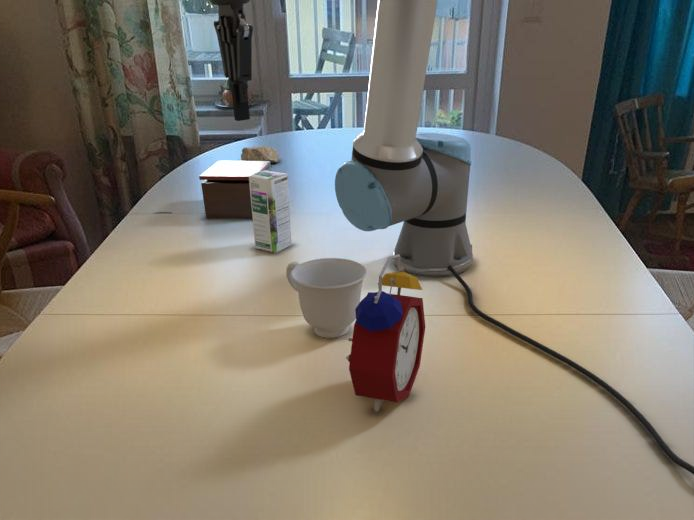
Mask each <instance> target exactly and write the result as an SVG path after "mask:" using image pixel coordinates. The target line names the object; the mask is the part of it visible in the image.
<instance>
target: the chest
mask: <svg viewBox="0 0 694 520" xmlns="http://www.w3.org/2000/svg"><path fill="white" fill-rule="evenodd" d="M271 165H272V164H271ZM271 165H270V166H269V167H268V168H267V169H266V170H268V171H272V166H271ZM200 185H201V192H202V201H203V207H204V213H205V219H208V220H209V219H210V220H211V219H212V220H215V219H216V220H219V219H220V220H253V217H252V206H251V196H250V185H249V180H202V181H201V183H200Z"/></svg>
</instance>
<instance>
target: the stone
mask: <svg viewBox="0 0 694 520" xmlns="http://www.w3.org/2000/svg"><path fill="white" fill-rule="evenodd" d="M279 155H280V154H279V153H278V152H277V150H276V149H275V148H274V147H272V146H264V145H263V146H262V145H261V146H247V147H243V148H242V150H241V154H240V161H270V164H271V163H279V161H280V160H279V159H280V156H279Z"/></svg>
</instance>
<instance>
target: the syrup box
mask: <svg viewBox="0 0 694 520" xmlns="http://www.w3.org/2000/svg"><path fill="white" fill-rule="evenodd" d="M249 185H250V196H251V206H252V217H253V219H252V227H253V239H254V248H255V250H256V249H257V250H262V251H263V250H264V251H267V252H271V253H274V254H277V253H279V252H281V251H283V250H285V249H287V248H288V247H290V246H292V245H293V243H292V240H293V239H292V224H291V208H290V194H289V193H290V192H289V175H288V173H287V172H286V173H285V172H284V173H283V172H278V171H272V170H271V171H268V170H264V171H259V172H256V173H254V174H252V175H250V176H249Z"/></svg>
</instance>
